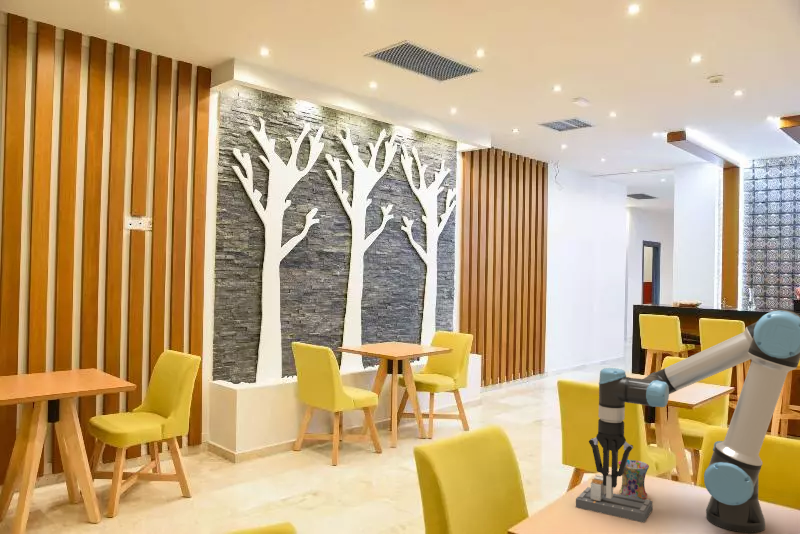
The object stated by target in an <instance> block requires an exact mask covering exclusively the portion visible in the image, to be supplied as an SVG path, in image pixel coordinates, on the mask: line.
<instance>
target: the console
mask: <svg viewBox="0 0 800 534" xmlns="http://www.w3.org/2000/svg"><path fill="white" fill-rule="evenodd" d="M593 479H596V480H601V481H603V474H602V475H601V474H595V477H594V478H593ZM575 508H577V509H582V510H587V511H591V512H595V513H600V514H605V515H609V516H612V517H618V518H622V519H626V520H630V521H635V522H640V523H645V522H646V521H647V519H648V518H649V515H650V514H651V512H652V511H653V500H651V499H647V498H645V499H639V498H634V497H629V496H624V495H620V493H615V492H613V497H612V498H611V499H609V498H606V486H604V498H603V499H602V500H601V501H597V500H592V499H591V486H590V487H589V486H587V487H586V488H585V489H584V490H583V492H581V493H580V494H579V495H578V496H577V498H575Z"/></svg>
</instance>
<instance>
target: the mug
mask: <svg viewBox="0 0 800 534" xmlns="http://www.w3.org/2000/svg"><path fill="white" fill-rule="evenodd" d="M620 464H621V460H619V461H618V467H620ZM649 468H650V465H649V464H648V463H646V462H644V461H641V460H635V459H628V460H627V463H626V466H625V470H624V473H623V475H622V476H621V477H622V479H621V480H622V481H621V487H620V489H619V493H618V494H619V495H624V496H629V497H634V498H639V499H643V500H646V499H647V497H648V494H647V492H646V488H645V480H646V479H645V478H646V474H647V472H648V470H649Z"/></svg>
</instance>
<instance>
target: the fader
mask: <svg viewBox="0 0 800 534" xmlns="http://www.w3.org/2000/svg"><path fill="white" fill-rule="evenodd" d="M590 488H591V499H592V500H597V501H601V500H602V499H603V498H604V485H603V481H601V480H596V479H594V478H592V479H591V482H590Z"/></svg>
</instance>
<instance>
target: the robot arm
mask: <svg viewBox="0 0 800 534" xmlns="http://www.w3.org/2000/svg"><path fill="white" fill-rule="evenodd" d="M749 360H751V362H750V365H749V368H748V370H747V373H746V377H745V379H744V382H743V385H742V388H741V391H740V394H739V397H738V400H737V403H736V406H735V408H734V412H733V414H732V417H731V419H730V423H729V426H728V428H727V432H726V435H725V437H724V440H718V441H715V442H714V443H713V448H712V455H711V458H710V461H709V464H708V466H707V468H706V469H705V471H704V474H703V480H704V486H705V489H706V490H707V492H708V493H709V495H710V498H709V501H708V504H707V506H706V510H705V518H706V520H707V521H708V522H709V523H711V524H713V525H715V526H717V527H720V528H721V529H726V530H727V531H732V532H739V533H751V534H752V533H760V532H763V531H764V530H765V529H766V520H765V517H764V514H763V510H762V506H761V504H760V501H759V476H760V475H759V474H760V473H761V469H762V466H763V461H762V459H761V457H760V452H761V449H762V446H763V444H764V440H765V437H766V434H767V433H768V432H767V431H768V429H769V426H770V424H771V420H772V418H773V416H774V415H773V414H774V413H775V409H776V406H777V403H778V401H779V398H780V396H781V392H782V390H783V387H784V384H785V382H786V378H787V377H788V373H789V372H790V371H793V370H796V369H797V368H798V366H799V363H800V314H799V313H798V312H795V311H794V310H793V311H792V310H789V309H775V310H772V311H769V312H768V313H766V314H763V315H762V316H761V317H760V318H759V319H758V320H757V321H755V322H754V323H752V324H750V325H747V326H746V327H745V329H744V331H743V332H741V333H739V334H736V335H735V336H732V337H730V338H728V339H726V340H723V341H721V342H719V343H717V344H715V345H712V346H711V347H708V348H705V349H704V350H701V351H699V352H697V353H695V354H692V355H690V356H689V357H686V358H684V359H682V360H679V361H678V362H676V363H673V364H670V365H669V366H667V367H665V368H662V369H659V370H657V371H656V372H655V371H654V372H652V373H650V374H649V375H647V376H645V377H644V378H636V377H629V376H627V375H626V371H625V370H624V369H622V368H621V369H619V368H616V367H615V368H613V367H608V368H607V367H606V368H602V369H601V370H600V373H599V381H598V418H599V419H598V422H597V423H598V425H597V429H598V430H597V434H596V437H594V438H591V439H589V441H588V444H589V445H590V447H591V450H592V454H593V458H594V459H593V460H594V463H595V467H596V468H595V469H596V472H597V473H599V474H602V476H603V485H604V486H606V498H609V499H611V498H612V497H613V493H614V489H615V488H616V487H617V485H618V477H622V475H623V473H624V470H625V466H626V463H627V460H629V455H630V454H631V453H630V452H631V451H632V450H633V449H634V445H633V444H630V443H628V442H627V441H626V437H625V422H624V420H625V411H626V408H625V407H626V406H625V404H626V403H628V404H636V405H642V406H649V407H653V408H655V407H658V408H665V407H666V406H667V405H668V402H669V397H670V395H671V394H673V393H675V392H677V391H679V390H682V389H684V388H686V387H689V386H691V385H694V384H696V383H697V382H700V381H703V380H705V379H707V378H710V377H713V376H715V375H717V374H719V373H722V372H724V371H726V370H729V369H731V368H733V367H735V366H738V365H740V364H743V363H745V362H747V361H749ZM599 444H600V447H602V456H603V457H601V455H600V449H599ZM622 447H623V450H624V451H623V454H622V457H621V460H620V461H621V464H620V466H619V464H618V462H619V461H618V460H619V450H620V449H621V448H622ZM610 451H611V473H610ZM618 467H619V468H618Z"/></svg>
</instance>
